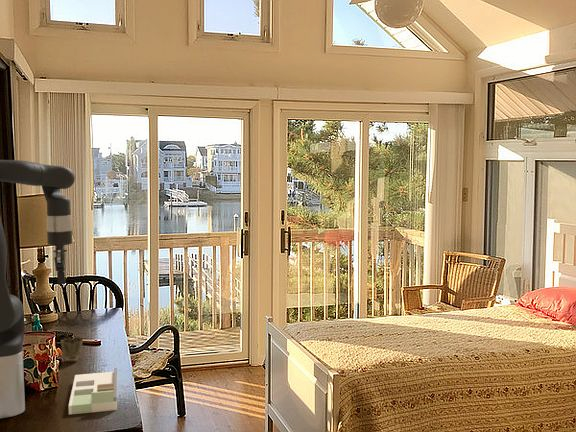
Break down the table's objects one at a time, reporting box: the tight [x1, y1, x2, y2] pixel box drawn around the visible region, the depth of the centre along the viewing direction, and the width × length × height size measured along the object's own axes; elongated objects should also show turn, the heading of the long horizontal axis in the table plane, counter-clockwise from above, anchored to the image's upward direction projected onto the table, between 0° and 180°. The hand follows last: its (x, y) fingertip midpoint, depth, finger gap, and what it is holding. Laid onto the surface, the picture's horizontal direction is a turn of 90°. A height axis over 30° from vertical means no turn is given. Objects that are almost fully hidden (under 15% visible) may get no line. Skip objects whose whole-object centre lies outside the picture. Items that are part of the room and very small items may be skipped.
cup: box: [60, 336, 84, 363], centre depth 230 cm, size 8×7×8 cm
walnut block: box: [97, 383, 114, 392], centre depth 187 cm, size 4×4×3 cm
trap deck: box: [68, 367, 118, 415], centre depth 195 cm, size 28×13×6 cm, turn 15°
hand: (61, 283), depth 206 cm, fingers closed
